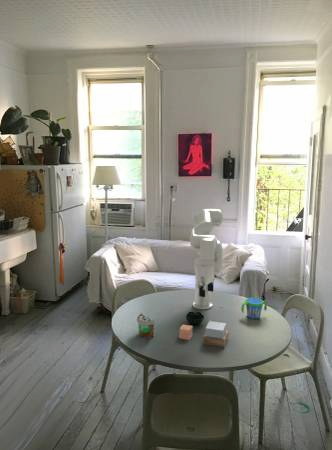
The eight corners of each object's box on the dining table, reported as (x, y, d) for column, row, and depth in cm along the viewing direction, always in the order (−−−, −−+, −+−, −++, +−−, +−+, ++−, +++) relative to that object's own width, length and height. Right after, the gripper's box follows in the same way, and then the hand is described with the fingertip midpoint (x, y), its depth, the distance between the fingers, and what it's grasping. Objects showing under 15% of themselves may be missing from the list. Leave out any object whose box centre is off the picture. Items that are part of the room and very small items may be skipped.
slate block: (209, 328, 207) (209, 320, 206) (225, 331, 204) (226, 323, 203) (205, 336, 198) (205, 328, 198) (222, 338, 196) (223, 330, 195)
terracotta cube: (182, 333, 210) (182, 324, 209) (192, 335, 208) (192, 325, 207) (179, 338, 205) (179, 328, 204) (189, 340, 203) (189, 330, 202)
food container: (132, 332, 211) (132, 315, 209) (142, 329, 215) (141, 312, 213) (145, 341, 202) (144, 323, 200) (154, 338, 205) (154, 320, 203)
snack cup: (262, 312, 238) (263, 296, 236) (269, 319, 228) (270, 303, 226) (238, 313, 236) (238, 298, 234) (244, 321, 226) (244, 304, 224)
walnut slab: (208, 335, 209) (208, 327, 208) (228, 338, 206) (228, 330, 205) (203, 344, 199) (203, 336, 198) (224, 348, 196) (224, 339, 195)
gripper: (207, 257, 208) (207, 287, 211) (192, 264, 193) (192, 297, 196) (220, 259, 204) (219, 290, 207) (206, 267, 190) (205, 300, 193)
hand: (206, 293), depth 202 cm, fingers open, 9 cm apart
